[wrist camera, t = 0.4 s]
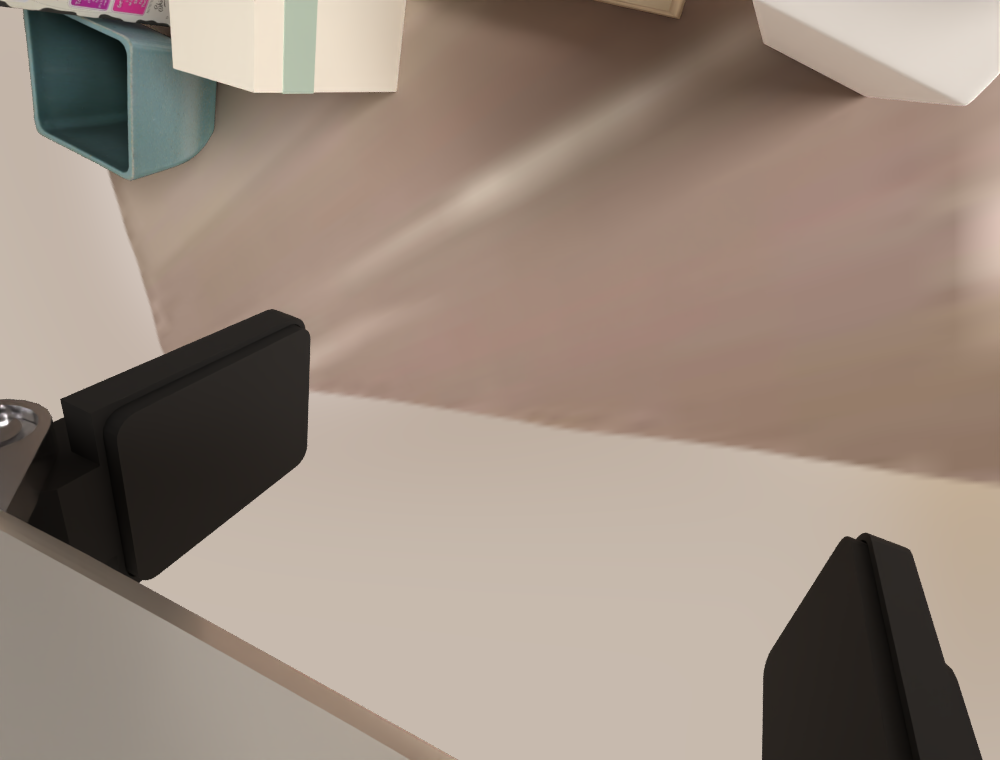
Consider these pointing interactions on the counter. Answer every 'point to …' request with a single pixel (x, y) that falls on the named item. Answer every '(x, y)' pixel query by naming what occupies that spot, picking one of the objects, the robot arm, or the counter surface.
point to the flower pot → (115, 93)
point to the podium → (652, 6)
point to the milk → (891, 44)
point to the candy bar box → (102, 9)
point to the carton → (290, 43)
